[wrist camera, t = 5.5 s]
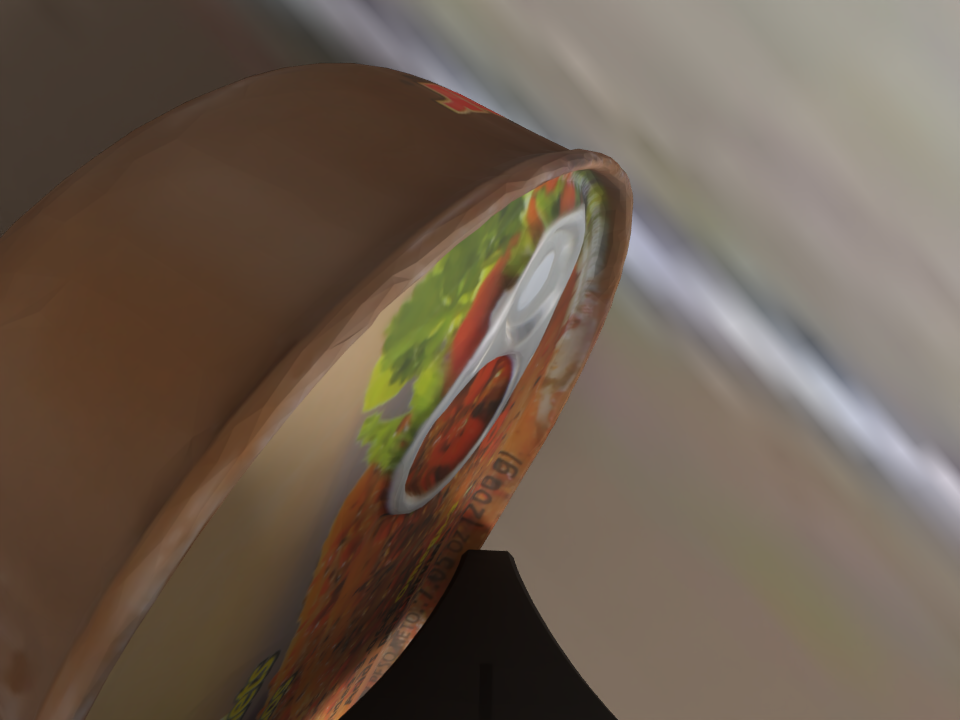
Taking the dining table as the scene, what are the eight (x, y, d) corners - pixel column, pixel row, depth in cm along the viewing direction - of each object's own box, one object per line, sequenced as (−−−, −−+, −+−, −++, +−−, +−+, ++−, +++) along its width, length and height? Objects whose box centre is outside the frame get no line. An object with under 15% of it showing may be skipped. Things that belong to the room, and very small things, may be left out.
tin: (282, 878, 14) (-301, 1704, 6) (173, 779, 14) (-485, 1388, 6) (673, 231, 10) (601, -24, 2) (503, 140, 11) (-38, -313, 3)
